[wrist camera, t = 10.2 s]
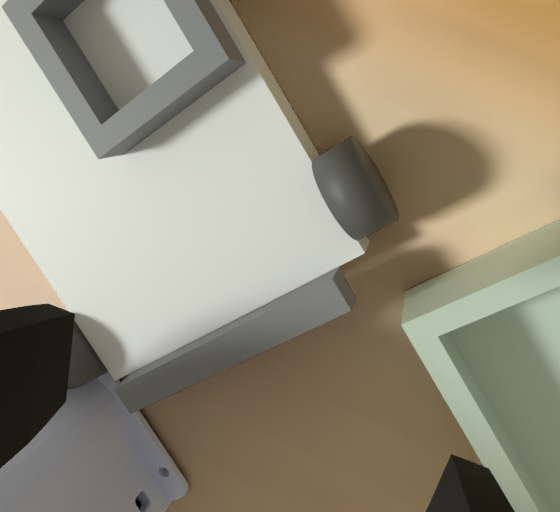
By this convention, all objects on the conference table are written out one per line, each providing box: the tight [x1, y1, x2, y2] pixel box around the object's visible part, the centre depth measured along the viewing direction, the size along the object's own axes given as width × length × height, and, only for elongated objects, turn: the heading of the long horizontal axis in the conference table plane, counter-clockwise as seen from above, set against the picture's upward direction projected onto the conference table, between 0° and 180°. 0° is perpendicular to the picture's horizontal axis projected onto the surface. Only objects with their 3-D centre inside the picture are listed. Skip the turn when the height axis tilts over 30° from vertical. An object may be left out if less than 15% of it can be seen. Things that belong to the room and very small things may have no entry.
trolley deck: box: [0, 0, 399, 414], centre depth 18 cm, size 15×15×3 cm
